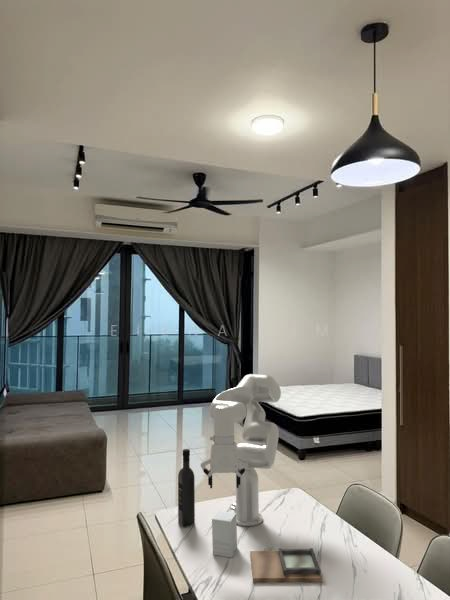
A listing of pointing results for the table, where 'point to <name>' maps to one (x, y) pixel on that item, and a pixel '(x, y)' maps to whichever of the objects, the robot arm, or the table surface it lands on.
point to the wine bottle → (186, 492)
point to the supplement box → (224, 533)
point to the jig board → (285, 566)
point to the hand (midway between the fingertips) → (224, 486)
